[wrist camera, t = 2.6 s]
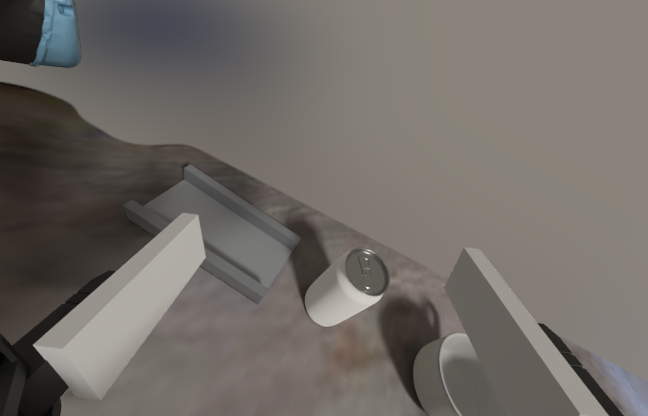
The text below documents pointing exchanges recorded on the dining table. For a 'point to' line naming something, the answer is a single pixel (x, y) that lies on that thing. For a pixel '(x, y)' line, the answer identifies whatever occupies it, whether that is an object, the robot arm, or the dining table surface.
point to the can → (347, 287)
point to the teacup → (453, 379)
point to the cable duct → (222, 231)
